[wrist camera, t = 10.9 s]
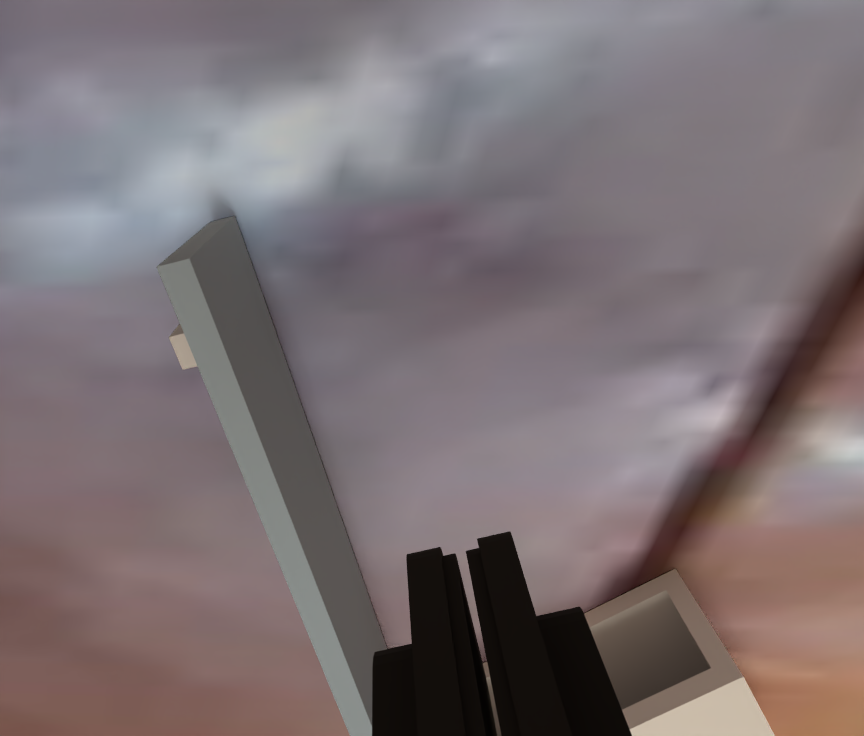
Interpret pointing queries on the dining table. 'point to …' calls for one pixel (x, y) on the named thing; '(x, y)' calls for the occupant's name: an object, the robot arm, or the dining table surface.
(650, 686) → the block
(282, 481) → the side door
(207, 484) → the dining table surface
